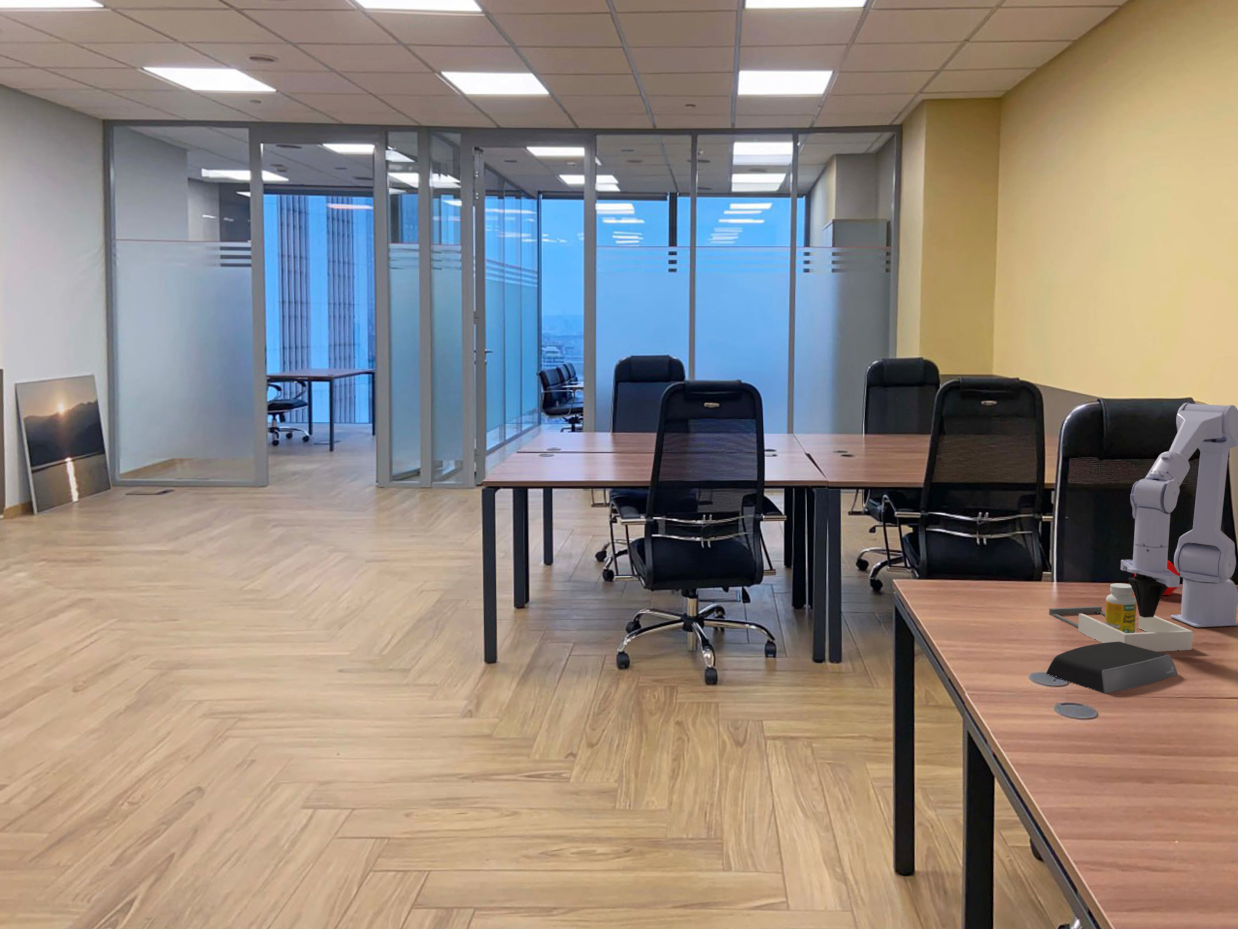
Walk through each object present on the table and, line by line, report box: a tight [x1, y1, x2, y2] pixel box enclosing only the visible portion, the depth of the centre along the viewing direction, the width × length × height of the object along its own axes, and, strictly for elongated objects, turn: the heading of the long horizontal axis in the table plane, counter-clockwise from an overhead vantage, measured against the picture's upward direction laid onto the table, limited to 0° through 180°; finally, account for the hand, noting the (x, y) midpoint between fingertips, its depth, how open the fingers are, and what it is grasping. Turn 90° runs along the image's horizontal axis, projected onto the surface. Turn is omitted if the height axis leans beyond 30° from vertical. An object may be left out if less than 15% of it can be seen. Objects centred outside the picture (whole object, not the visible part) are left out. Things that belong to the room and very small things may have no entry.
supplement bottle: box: [1104, 582, 1137, 633], centre depth 211 cm, size 5×5×10 cm
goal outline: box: [1048, 605, 1105, 629], centre depth 222 cm, size 11×10×1 cm
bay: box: [1077, 614, 1194, 653], centre depth 207 cm, size 14×15×4 cm
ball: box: [1133, 559, 1180, 596], centre depth 243 cm, size 8×8×8 cm
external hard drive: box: [1046, 642, 1178, 694], centre depth 187 cm, size 13×19×4 cm
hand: (1146, 616), depth 203 cm, fingers closed
